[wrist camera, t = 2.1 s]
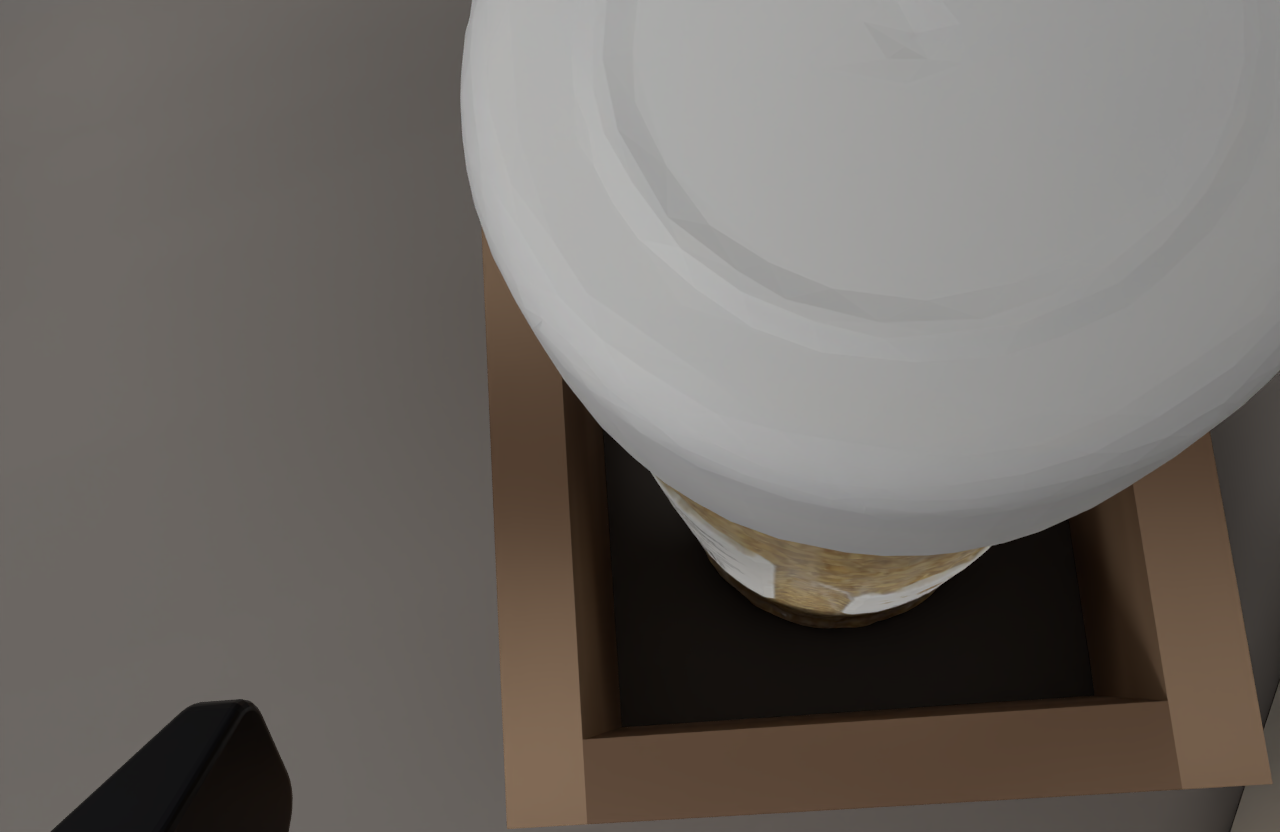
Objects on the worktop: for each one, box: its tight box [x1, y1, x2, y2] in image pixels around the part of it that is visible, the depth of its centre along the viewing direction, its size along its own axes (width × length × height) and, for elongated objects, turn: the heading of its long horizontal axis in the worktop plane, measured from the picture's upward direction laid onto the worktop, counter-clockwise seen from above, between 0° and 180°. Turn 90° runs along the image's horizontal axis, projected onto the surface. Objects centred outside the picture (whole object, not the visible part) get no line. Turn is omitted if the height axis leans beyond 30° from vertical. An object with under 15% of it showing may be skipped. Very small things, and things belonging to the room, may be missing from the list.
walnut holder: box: [481, 225, 1273, 829], centre depth 17 cm, size 9×9×4 cm
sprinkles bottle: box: [460, 0, 1280, 629], centre depth 12 cm, size 5×5×14 cm
